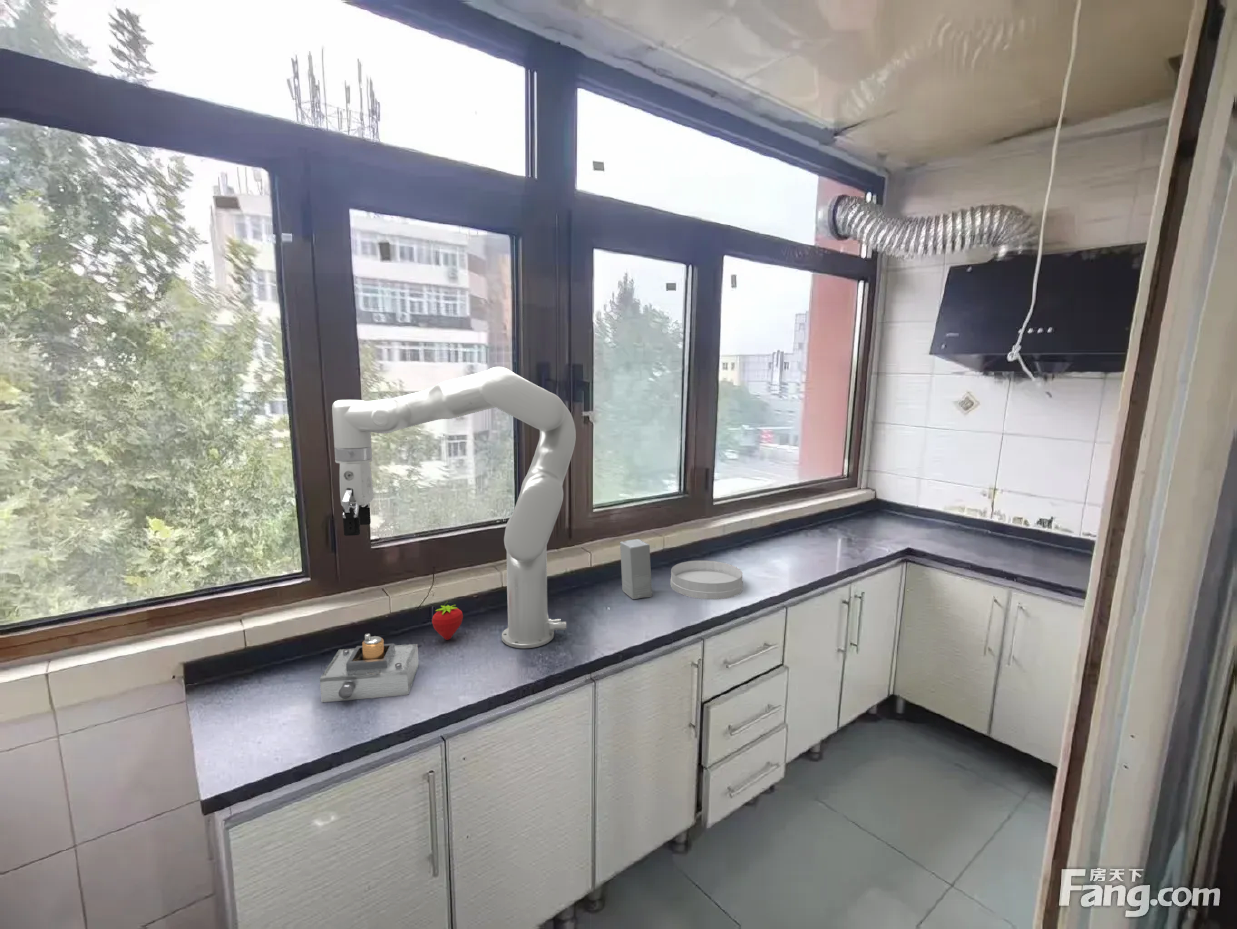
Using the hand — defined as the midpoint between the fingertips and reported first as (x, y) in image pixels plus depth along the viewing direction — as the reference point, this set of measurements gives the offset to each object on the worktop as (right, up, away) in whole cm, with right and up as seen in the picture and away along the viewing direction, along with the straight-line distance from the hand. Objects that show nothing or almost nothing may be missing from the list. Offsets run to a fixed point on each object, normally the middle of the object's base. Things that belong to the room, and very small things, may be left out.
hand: (358, 529), depth 128 cm
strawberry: (+18, -28, +8) cm, 34 cm away
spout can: (+9, -29, -12) cm, 33 cm away
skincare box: (+65, -24, +38) cm, 79 cm away
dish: (+87, -23, +46) cm, 101 cm away
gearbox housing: (+9, -30, -12) cm, 34 cm away
